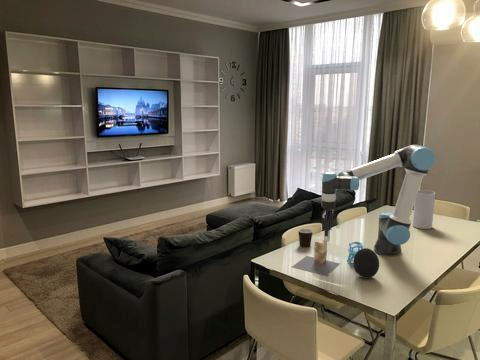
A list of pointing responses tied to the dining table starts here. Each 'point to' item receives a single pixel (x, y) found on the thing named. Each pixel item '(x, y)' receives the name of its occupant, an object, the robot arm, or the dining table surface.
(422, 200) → the cylinder vase
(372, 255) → the decorative egg
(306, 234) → the coffee mug
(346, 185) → the robot arm
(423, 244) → the dining table surface
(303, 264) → the mat
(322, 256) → the wood block
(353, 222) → the dining table surface
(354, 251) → the chair
